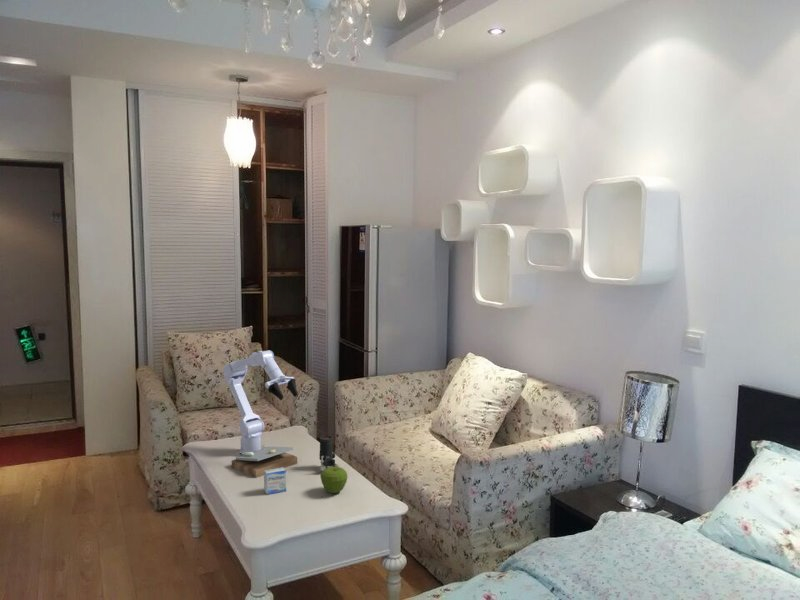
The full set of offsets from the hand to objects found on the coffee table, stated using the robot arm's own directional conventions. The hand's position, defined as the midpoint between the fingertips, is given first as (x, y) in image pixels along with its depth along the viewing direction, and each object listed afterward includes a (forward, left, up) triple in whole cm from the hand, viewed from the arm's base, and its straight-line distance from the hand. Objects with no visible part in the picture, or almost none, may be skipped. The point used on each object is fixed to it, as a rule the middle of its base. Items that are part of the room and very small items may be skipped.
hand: (289, 397), depth 262 cm
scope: (+12, +10, -32) cm, 36 cm away
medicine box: (+14, -19, -32) cm, 40 cm away
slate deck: (-12, -5, -27) cm, 30 cm away
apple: (+32, -4, -32) cm, 46 cm away
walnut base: (-12, -5, -32) cm, 34 cm away
